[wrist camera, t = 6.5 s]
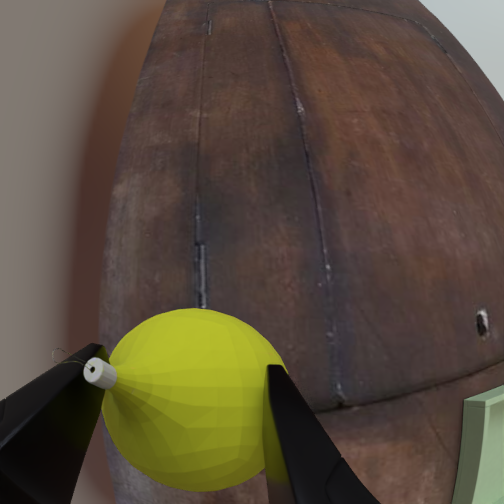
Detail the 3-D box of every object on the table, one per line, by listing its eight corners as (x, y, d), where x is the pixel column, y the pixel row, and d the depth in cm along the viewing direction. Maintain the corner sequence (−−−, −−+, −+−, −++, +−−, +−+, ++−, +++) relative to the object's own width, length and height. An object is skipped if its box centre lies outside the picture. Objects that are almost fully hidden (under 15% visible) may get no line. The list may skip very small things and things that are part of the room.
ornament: (142, 318, 15) (14, 245, 5) (281, 323, 15) (340, 250, 6) (139, 450, 12) (20, 527, 3) (280, 460, 12) (329, 581, 3)
